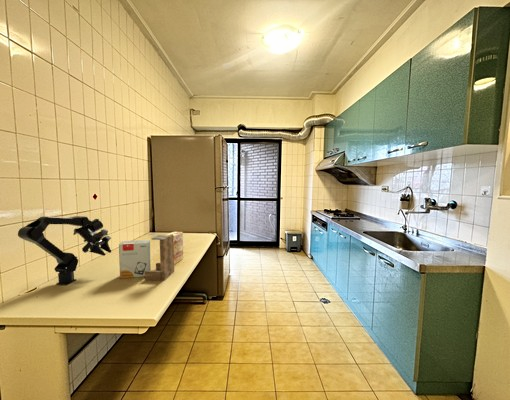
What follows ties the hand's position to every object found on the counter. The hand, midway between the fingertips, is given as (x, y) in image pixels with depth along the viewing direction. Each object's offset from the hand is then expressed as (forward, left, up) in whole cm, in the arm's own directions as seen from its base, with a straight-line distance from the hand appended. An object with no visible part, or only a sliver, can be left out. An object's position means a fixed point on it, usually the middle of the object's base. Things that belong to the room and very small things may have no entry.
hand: (108, 253), depth 142 cm
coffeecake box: (+25, -29, -13) cm, 40 cm away
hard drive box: (0, -17, -13) cm, 21 cm away
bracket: (+1, -31, -13) cm, 34 cm away
